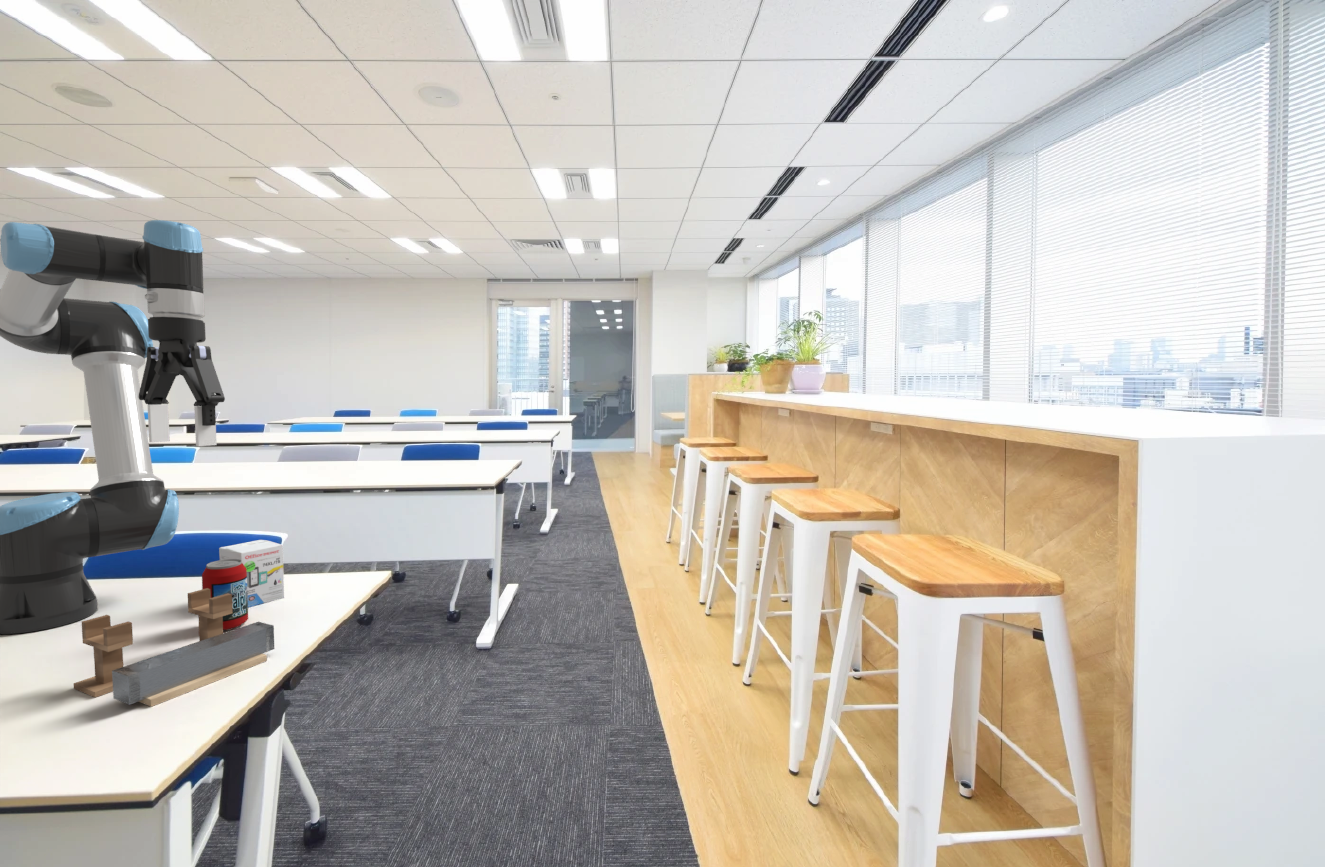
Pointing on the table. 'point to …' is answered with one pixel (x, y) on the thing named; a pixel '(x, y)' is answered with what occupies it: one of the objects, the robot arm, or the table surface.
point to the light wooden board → (203, 681)
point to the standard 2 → (209, 611)
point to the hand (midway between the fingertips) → (182, 443)
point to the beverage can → (229, 588)
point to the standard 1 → (104, 652)
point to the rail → (190, 662)
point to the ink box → (259, 569)
